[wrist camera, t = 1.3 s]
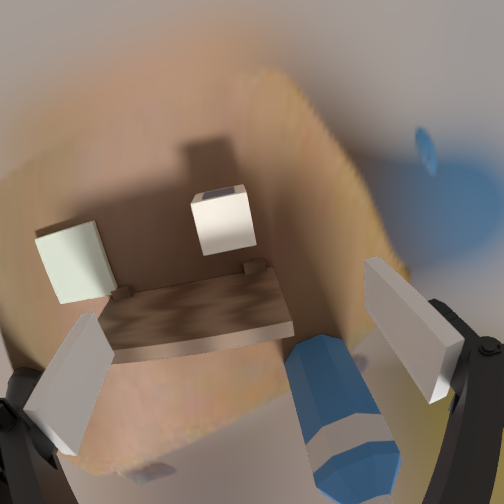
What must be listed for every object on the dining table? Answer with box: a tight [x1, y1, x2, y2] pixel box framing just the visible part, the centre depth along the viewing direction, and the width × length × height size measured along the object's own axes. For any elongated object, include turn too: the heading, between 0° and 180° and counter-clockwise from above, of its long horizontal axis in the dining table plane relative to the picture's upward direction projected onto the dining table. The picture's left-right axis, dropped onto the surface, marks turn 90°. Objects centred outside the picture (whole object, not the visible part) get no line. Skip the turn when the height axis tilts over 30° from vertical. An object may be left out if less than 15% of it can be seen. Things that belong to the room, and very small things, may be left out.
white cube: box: [191, 184, 257, 256], centre depth 29 cm, size 5×5×5 cm
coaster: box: [35, 220, 118, 304], centre depth 32 cm, size 9×9×1 cm
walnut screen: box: [98, 258, 294, 364], centre depth 30 cm, size 20×4×11 cm, turn 100°
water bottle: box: [284, 334, 401, 504], centre depth 29 cm, size 9×9×25 cm
